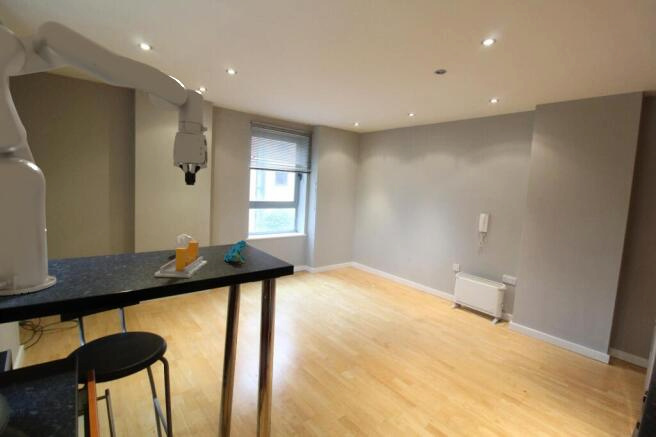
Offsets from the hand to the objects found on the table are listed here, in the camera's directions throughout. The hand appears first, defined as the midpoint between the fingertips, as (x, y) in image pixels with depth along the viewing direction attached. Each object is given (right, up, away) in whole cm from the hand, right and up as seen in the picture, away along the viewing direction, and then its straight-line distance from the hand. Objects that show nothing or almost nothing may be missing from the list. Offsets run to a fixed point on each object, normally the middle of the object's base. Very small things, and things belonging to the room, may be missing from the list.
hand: (190, 184), depth 103 cm
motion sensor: (-9, -25, +14) cm, 30 cm away
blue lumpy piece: (+12, -27, +9) cm, 31 cm away
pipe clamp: (0, -27, -5) cm, 27 cm away
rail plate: (0, -28, -5) cm, 28 cm away
